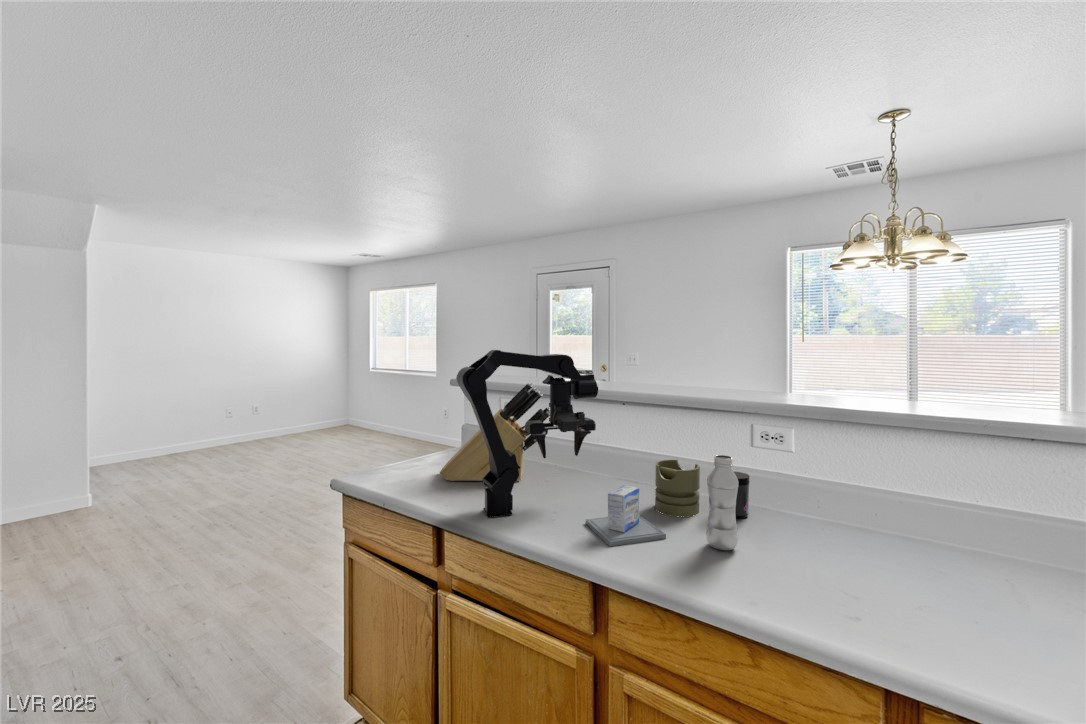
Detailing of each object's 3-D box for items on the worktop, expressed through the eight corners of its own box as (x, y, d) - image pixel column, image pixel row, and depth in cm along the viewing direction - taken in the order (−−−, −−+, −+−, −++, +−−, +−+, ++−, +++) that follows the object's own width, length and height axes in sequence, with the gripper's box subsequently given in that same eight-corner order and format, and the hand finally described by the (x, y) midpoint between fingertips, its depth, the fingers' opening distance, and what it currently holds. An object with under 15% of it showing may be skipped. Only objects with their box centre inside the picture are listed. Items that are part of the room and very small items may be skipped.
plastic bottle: (723, 556, 105) (724, 462, 104) (699, 544, 111) (700, 455, 110) (744, 550, 108) (746, 458, 107) (720, 539, 114) (722, 452, 113)
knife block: (550, 482, 158) (550, 384, 156) (439, 482, 158) (437, 384, 157) (550, 472, 169) (550, 381, 167) (446, 472, 170) (445, 381, 168)
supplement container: (744, 521, 125) (745, 480, 124) (717, 515, 129) (717, 475, 128) (752, 513, 130) (753, 474, 130) (725, 508, 134) (726, 469, 134)
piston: (685, 473, 125) (647, 464, 133) (685, 520, 126) (646, 509, 134) (707, 464, 133) (670, 457, 141) (707, 509, 133) (669, 499, 142)
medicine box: (624, 533, 115) (624, 496, 114) (607, 529, 117) (607, 492, 117) (639, 523, 121) (640, 487, 120) (623, 519, 124) (623, 484, 123)
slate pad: (609, 546, 110) (609, 541, 110) (585, 523, 124) (585, 519, 124) (665, 538, 114) (666, 533, 114) (636, 517, 128) (636, 512, 128)
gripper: (535, 405, 126) (536, 466, 127) (604, 402, 132) (603, 461, 133) (524, 400, 137) (524, 456, 138) (588, 397, 143) (587, 451, 143)
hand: (560, 456), depth 138 cm, fingers open, 9 cm apart
